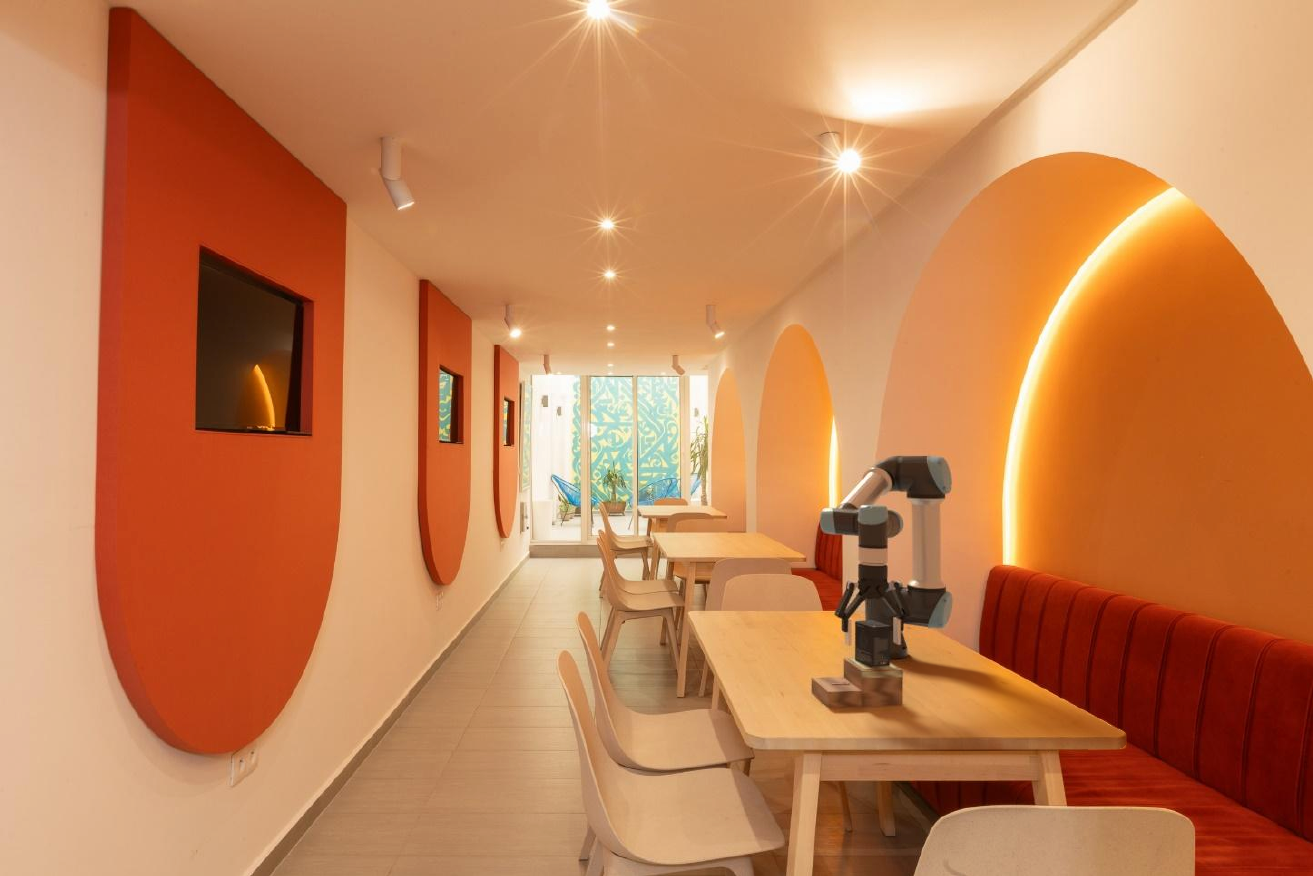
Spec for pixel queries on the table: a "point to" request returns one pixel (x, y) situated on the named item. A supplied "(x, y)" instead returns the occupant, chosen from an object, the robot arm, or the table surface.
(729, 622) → the table surface
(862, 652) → the box
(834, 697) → the stand
